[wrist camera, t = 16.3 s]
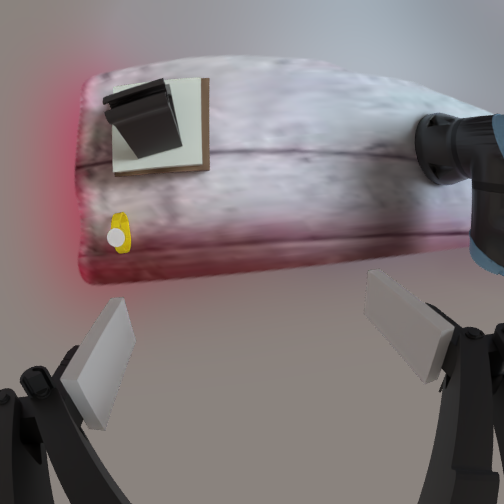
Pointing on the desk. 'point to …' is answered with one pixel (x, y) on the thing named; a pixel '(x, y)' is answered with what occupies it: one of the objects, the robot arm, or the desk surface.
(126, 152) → the upper block
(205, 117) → the lower block
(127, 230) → the watch
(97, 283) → the desk surface
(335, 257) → the desk surface
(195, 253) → the desk surface
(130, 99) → the phone stand
